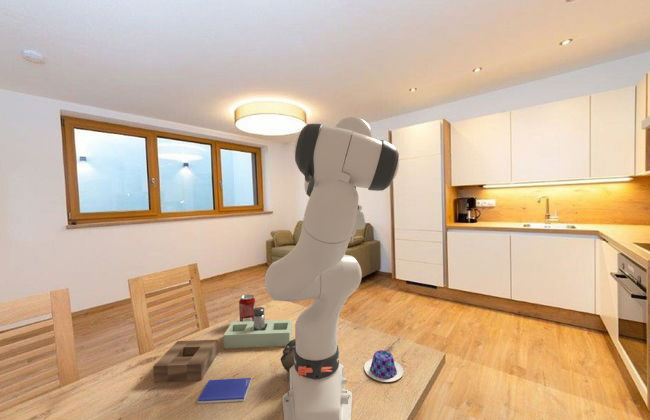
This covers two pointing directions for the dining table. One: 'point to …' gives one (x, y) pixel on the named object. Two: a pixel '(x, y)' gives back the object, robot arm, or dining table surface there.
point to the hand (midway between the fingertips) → (339, 241)
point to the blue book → (225, 390)
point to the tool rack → (258, 334)
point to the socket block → (186, 361)
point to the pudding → (383, 367)
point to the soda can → (247, 308)
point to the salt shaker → (259, 319)
